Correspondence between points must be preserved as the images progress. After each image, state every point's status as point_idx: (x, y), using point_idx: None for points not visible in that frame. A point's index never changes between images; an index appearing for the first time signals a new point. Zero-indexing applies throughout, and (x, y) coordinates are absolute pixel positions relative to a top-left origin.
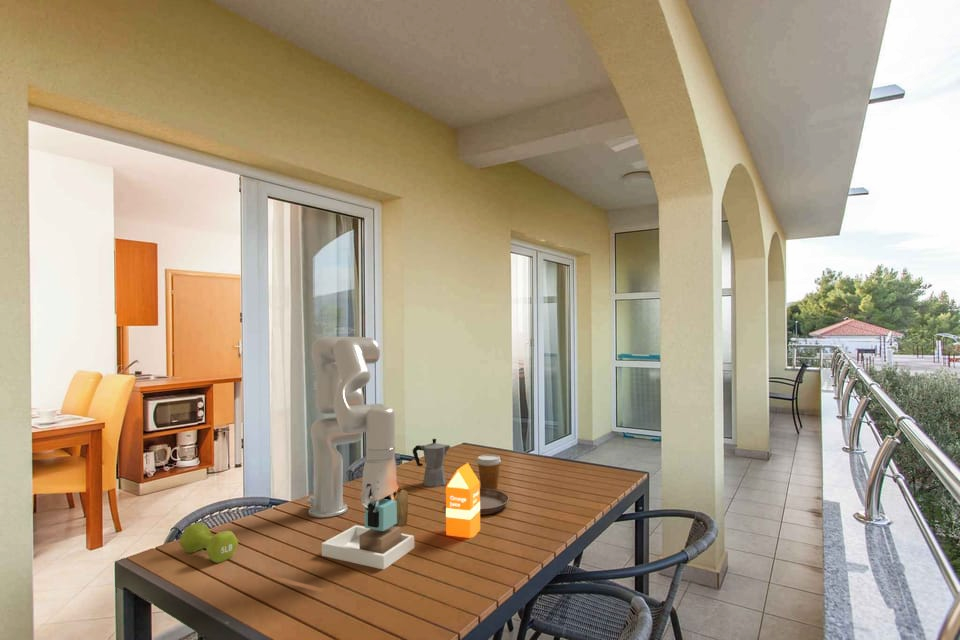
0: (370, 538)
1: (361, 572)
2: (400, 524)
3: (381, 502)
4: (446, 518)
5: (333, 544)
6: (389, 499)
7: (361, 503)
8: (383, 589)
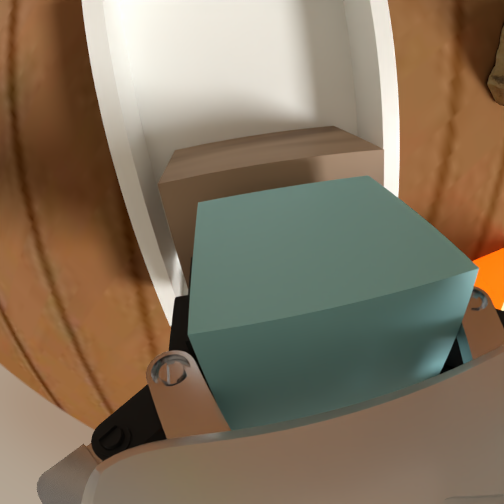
0: (180, 259)
1: (124, 226)
2: (500, 90)
3: (353, 392)
4: (500, 300)
5: (98, 33)
6: (454, 356)
7: (45, 474)
8: (117, 343)
